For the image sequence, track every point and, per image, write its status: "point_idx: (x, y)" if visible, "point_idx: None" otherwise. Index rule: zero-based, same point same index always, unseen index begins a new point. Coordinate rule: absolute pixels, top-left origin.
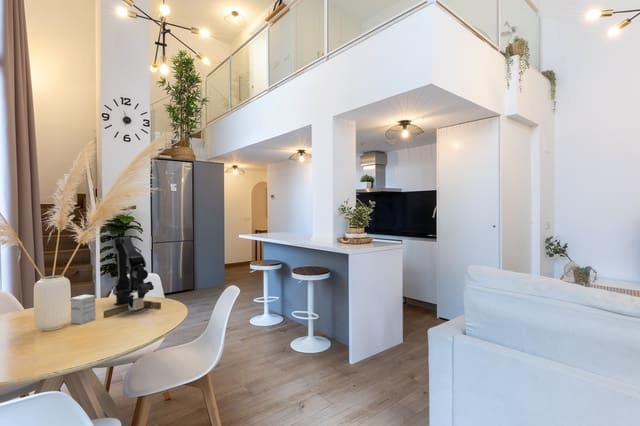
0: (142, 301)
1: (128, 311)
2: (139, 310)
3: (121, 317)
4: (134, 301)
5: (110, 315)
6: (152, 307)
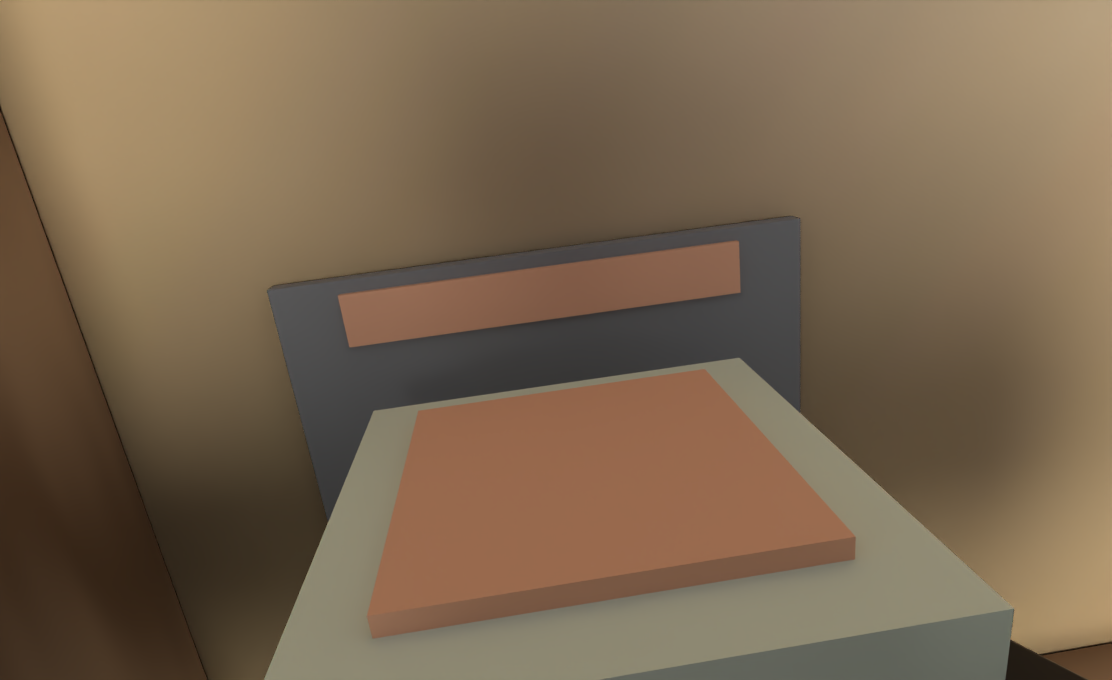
0: (386, 545)
1: None
2: None
3: (1103, 315)
4: (976, 620)
5: (1102, 663)
6: (47, 315)
